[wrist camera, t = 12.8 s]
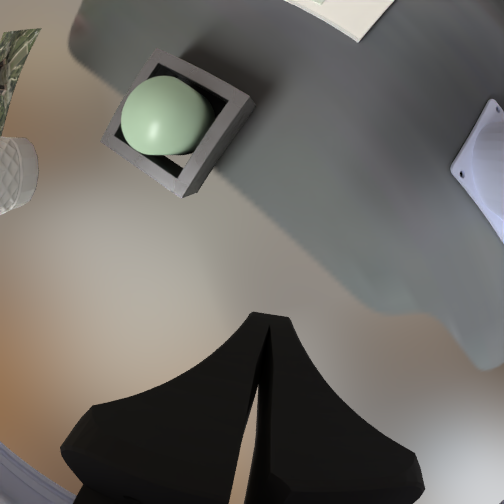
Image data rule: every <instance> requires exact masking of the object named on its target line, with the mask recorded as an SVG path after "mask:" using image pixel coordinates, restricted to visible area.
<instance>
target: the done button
mask: <svg viewBox="0 0 504 504" xmlns="http://www.w3.org/2000/svg"><path fill="white" fill-rule="evenodd" d="M214 121H215V113H214V109H213V107H212V105H211V103H210V102H209V101H208V100H207V99H206V98H205V97H204V96H203V95H201V94H200V93H198V92H197V91H195V90H194V89H193V88H191V87H190V86H188V85H187V84H185V83H184V82H182V81H181V80H179V79H177V78H175V77H171V76H157V77H153V78H150V79H148V80H146V81H144V82H142V83H141V84H140V85H138V86H137V87H136V88H135V89H134V90H133V91H132V92H131V94H130V95H129V97H128V98H127V100H126V102H125V104H124V107H123V110H122V116H121V127H122V132H123V134H124V137H125V139H126V141H127V142H128V143H129V145H130V146H131V147H132V148H134V149H135V150H137V151H138V152H141V153H143V154H147V155H187V154H190V153H193V152H194V151H195V150H196V148H197V147H198V145H199V143H200V142H201V140H202V139H203V137H204V136H205V134H206V133H207V131H208V130H209V128H210V127H211V126H212V124H213V123H214Z"/></svg>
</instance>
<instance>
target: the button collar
mask: <svg viewBox="0 0 504 504" xmlns="http://www.w3.org/2000/svg"><path fill="white" fill-rule="evenodd" d="M176 75H178V76H180V77H182V78H183V79H185V80H187V81H189V82H191V83H193V84H195V85H197V86H198V87H200V88H202V89H204V90H206V91H207V92H209V93H211V94H213V95H214V96H216V97H218V98H219V99H221V100H223V101H225V102H226V103H227V104H226V106H225V107H224V108H223V110H222V111H221V113H220V114H219V115H218V117H217V118H216V120H215V121H214V123H213V124H212V126H211V127H210V128H209V130H208V131H207V133H206V134H205V136H204V137H203V139H202V140H201V142H200V143H199V145H198V147H197V148H196V150H195V151H194V153H193V154H192V156H191V157H190V159H189V161H188V162H187V164H186V165H185V167H184V169H183V168H182V167H180V166H179V165H177V164H176V163H174V162H173V161H171V160H170V159H168V158H167V157H165V156H164V155H147V154H143V153H141V152H138V151H137V150H135V149H134V148H132V147H131V146H130V145H129V143H128V142H127V141H126V139H125V137H124V134H123V132H122V127H121V116H122V110H123V107H124V104H125V102H126V100H127V98H128V97H129V95H130V94H131V92H132V91H133V90H134V89H135V88H136V87H137V86H138V85H140V84H141V83H142V82H144V81H146V80H148V79H150V78H153V77H157V76H171V77H175V76H176ZM255 107H256V105H255V104H254V102H253V100H252V99H251V97H250V96H249V95H247V94H245V93H244V92H242V91H240V90H239V89H237V88H235V87H233V86H232V85H230V84H228V83H226V82H225V81H223V80H221V79H219V78H217V77H215V76H214V75H212V74H210V73H208V72H206V71H204V70H202V69H200V68H198V67H196V66H194V65H192V64H190V63H188V62H186V61H184V60H182V59H180V58H178V57H176V56H174V55H171V54H169V53H167V52H165V51H163V50H160V49H158V48H156V49H155V50H154V52H153V53H152V55H151V56H150V57H149V59H148V60H147V62H146V63H145V65H144V66H143V68H142V69H141V71H140V72H139V74H138V75H137V77H136V78H135V80H134V82H133V83H132V85H131V86H130V88H129V90H128V91H127V93H126V95H125V96H124V98H123V100H122V101H121V103H120V105H119V107H118V108H117V110H116V112H115V114H114V116H113V117H112V119H111V121H110V123H109V125H108V127H107V129H106V131H105V133H104V135H103V137H102V139H101V141H100V142H102V143H103V144H104V145H106V146H107V147H109V148H110V149H111V150H113V151H114V152H116V153H117V154H119V155H120V156H122V157H123V158H124V159H126V160H127V161H129V162H130V163H131V164H133V165H134V166H136V167H137V168H139V169H140V170H141V171H143V172H144V173H146V174H147V175H149V176H150V177H152V178H153V179H154V180H156V181H157V182H159V183H160V184H161V185H163V186H164V187H166V188H167V189H169V190H170V191H171V192H173V193H174V194H176V195H177V196H178V197H180V198H184V197H186V196H189V195H192V194H194V193H197V192H198V190H199V189H200V187H201V186H202V184H203V183H204V181H205V180H206V178H207V177H208V175H209V173H210V172H211V170H212V169H213V167H214V166H215V164H216V163H217V161H218V160H219V158H220V157H221V155H222V154H223V153H224V151H225V150H226V148H227V147H228V145H229V144H230V142H231V141H232V139H233V138H234V137H235V135H236V134H237V132H238V131H239V129H240V128H241V127H242V125H243V124H244V123H245V121H246V120H247V118H248V117H249V116H250V114H251V113H252V112H253V110H254V109H255Z"/></svg>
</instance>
